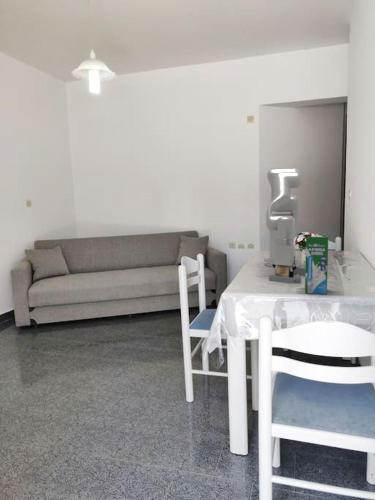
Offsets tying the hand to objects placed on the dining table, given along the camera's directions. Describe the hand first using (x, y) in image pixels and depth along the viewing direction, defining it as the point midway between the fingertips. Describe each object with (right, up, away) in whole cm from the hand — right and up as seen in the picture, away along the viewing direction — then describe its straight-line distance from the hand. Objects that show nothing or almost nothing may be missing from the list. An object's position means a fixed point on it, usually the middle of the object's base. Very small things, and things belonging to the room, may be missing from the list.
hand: (284, 277), depth 190 cm
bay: (+4, -2, +3) cm, 5 cm away
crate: (0, -1, 0) cm, 1 cm away
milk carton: (+9, -5, -19) cm, 22 cm away
